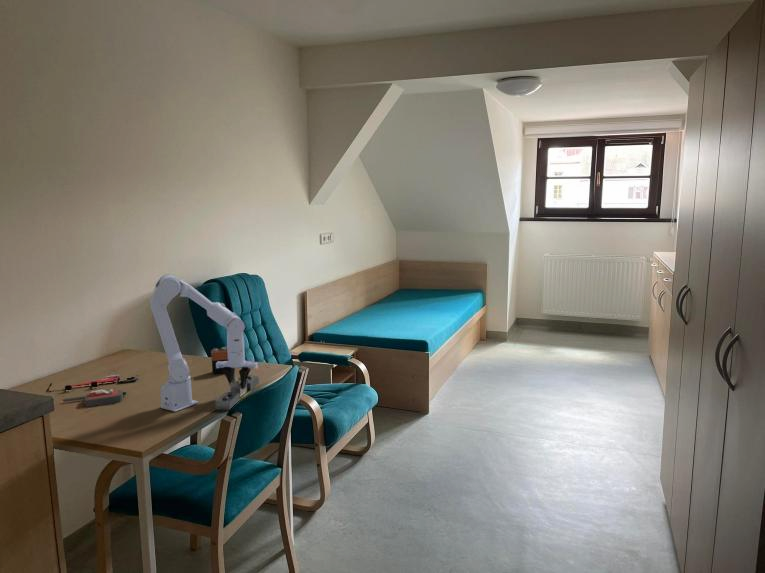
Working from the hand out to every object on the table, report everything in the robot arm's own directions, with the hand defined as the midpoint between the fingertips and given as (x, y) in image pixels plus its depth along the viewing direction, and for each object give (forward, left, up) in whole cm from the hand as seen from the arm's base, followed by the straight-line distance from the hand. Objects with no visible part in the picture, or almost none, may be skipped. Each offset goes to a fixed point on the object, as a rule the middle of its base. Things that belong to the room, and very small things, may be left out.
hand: (238, 387), depth 195 cm
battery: (+16, +26, -3) cm, 31 cm away
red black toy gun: (-17, +59, -4) cm, 61 cm away
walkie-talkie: (-29, +39, -3) cm, 49 cm away
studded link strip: (0, 0, -3) cm, 3 cm away
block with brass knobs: (+1, 0, -2) cm, 2 cm away
